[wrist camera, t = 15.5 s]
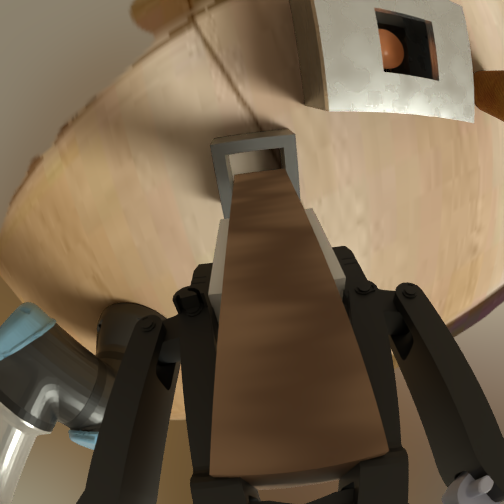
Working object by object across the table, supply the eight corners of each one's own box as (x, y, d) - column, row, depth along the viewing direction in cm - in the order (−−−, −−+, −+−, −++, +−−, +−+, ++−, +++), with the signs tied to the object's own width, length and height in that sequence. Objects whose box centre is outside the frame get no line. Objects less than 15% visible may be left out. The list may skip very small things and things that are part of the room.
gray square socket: (226, 204, 32) (224, 219, 28) (214, 138, 27) (210, 145, 24) (294, 195, 31) (300, 210, 28) (288, 128, 27) (295, 134, 24)
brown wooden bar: (241, 219, 23) (240, 490, 7) (234, 174, 21) (209, 474, 4) (288, 213, 23) (355, 476, 6) (284, 168, 21) (389, 450, 4)
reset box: (304, 105, 26) (329, 111, 18) (289, -1, 18) (306, -33, 11) (426, 109, 25) (474, 123, 17) (416, 16, 18) (462, 6, 10)
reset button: (353, 68, 23) (368, 66, 19) (348, 32, 20) (362, 26, 17) (387, 71, 22) (405, 70, 19) (383, 37, 20) (401, 32, 17)
